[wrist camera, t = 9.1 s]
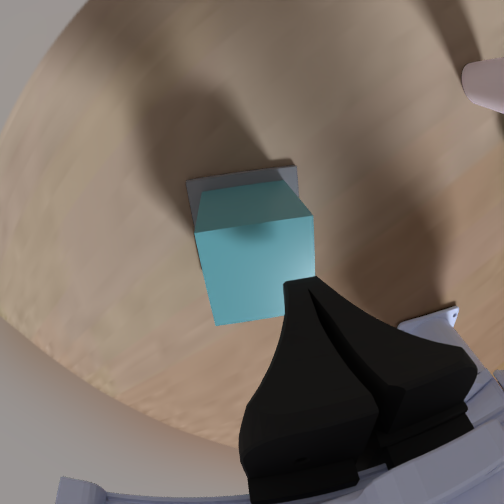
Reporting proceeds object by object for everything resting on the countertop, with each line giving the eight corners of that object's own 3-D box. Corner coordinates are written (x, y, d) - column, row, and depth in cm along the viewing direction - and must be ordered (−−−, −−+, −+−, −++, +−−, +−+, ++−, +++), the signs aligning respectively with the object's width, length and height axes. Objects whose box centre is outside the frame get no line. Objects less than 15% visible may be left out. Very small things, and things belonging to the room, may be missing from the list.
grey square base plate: (300, 259, 22) (322, 303, 18) (205, 274, 22) (203, 323, 17) (294, 164, 19) (321, 186, 14) (186, 180, 19) (175, 207, 14)
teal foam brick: (289, 252, 22) (315, 309, 16) (215, 263, 21) (215, 325, 15) (283, 179, 19) (313, 215, 13) (201, 191, 19) (194, 233, 13)
